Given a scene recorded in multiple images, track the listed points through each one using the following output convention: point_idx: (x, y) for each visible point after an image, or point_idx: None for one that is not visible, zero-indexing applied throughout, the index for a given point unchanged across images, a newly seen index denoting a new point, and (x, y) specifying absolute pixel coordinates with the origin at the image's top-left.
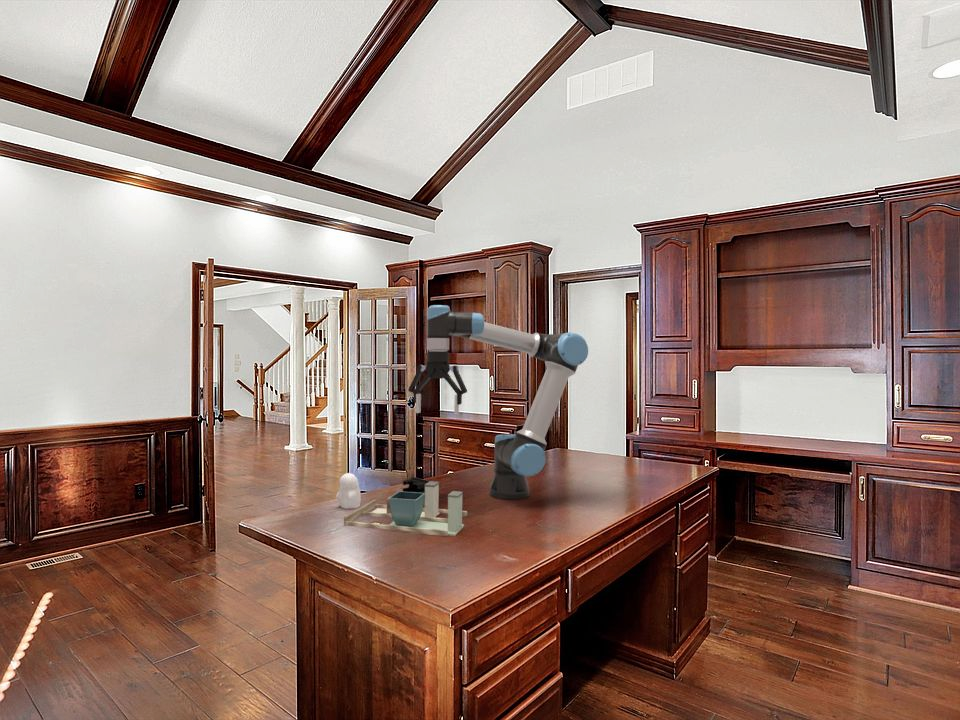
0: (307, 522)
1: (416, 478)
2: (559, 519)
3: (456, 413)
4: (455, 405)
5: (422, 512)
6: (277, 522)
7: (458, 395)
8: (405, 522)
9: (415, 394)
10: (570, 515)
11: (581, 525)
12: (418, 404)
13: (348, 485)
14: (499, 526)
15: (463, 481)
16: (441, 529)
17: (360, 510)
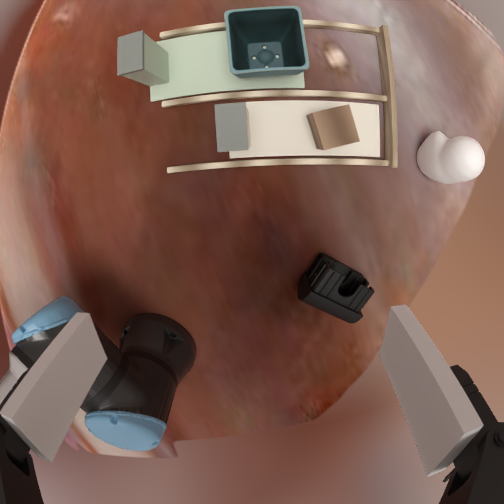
0: (446, 53)
1: (346, 308)
2: (36, 218)
3: (73, 317)
4: (48, 353)
5: (270, 150)
6: (479, 53)
7: (4, 419)
8: (258, 35)
9: (482, 427)
10: (33, 247)
11: (10, 200)
12: (417, 359)
13: (456, 137)
14: (94, 132)
15: (276, 401)
16: (182, 54)
17: (388, 83)
